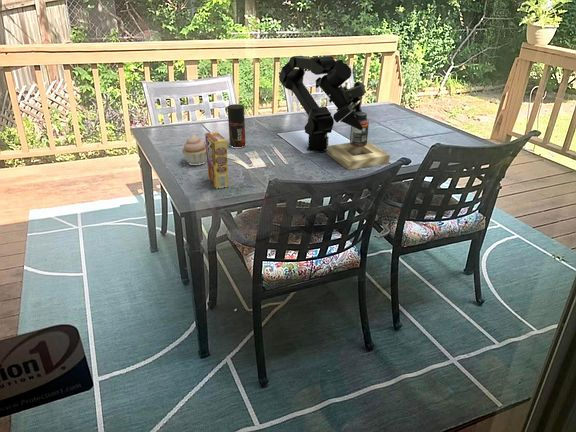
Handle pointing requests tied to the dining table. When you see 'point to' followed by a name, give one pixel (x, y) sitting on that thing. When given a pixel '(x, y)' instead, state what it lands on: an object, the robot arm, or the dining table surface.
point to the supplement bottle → (360, 131)
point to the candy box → (217, 159)
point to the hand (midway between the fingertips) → (363, 126)
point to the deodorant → (236, 125)
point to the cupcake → (195, 150)
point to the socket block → (367, 159)
